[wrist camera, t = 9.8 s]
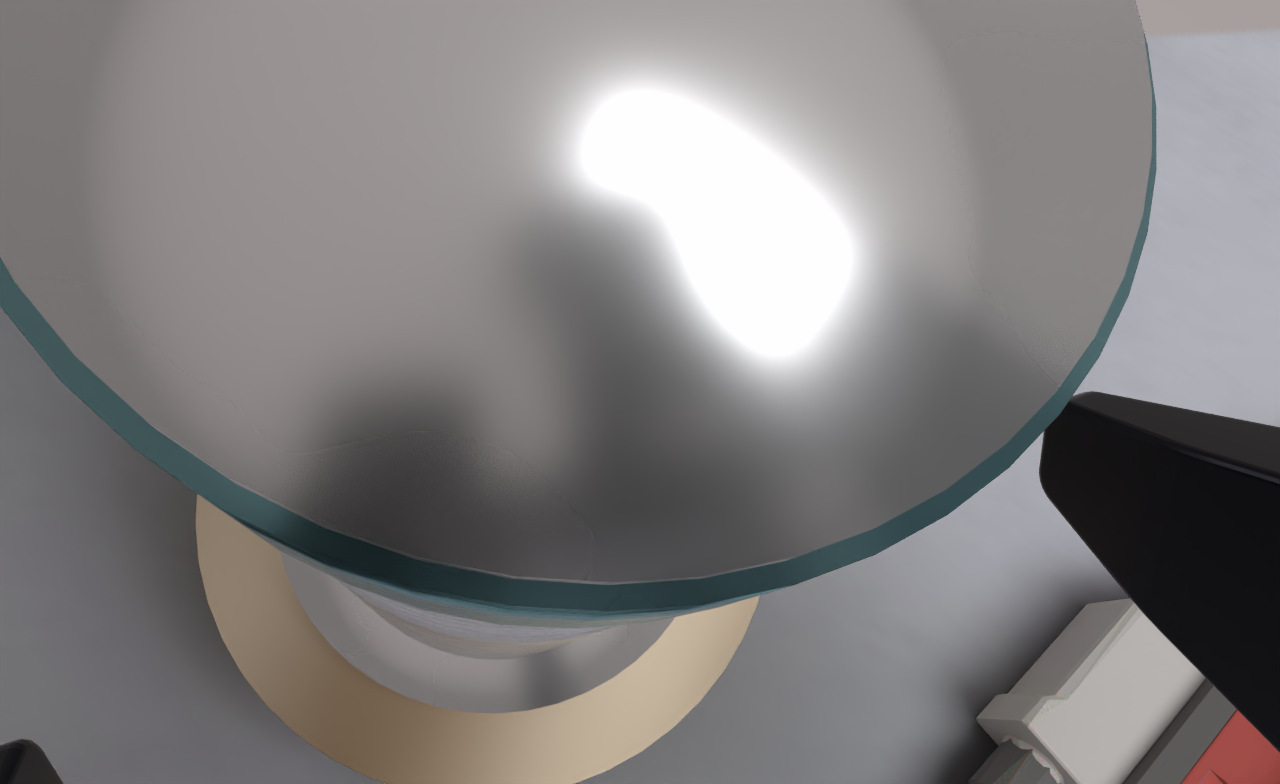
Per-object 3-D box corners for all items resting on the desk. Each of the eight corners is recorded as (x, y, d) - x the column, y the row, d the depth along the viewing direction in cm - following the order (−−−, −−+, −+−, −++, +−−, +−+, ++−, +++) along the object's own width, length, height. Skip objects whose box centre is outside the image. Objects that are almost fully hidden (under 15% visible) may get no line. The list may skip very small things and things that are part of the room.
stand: (790, 406, 21) (840, 364, 19) (625, 863, 18) (656, 896, 15) (381, 224, 21) (369, 152, 18) (133, 658, 18) (70, 653, 15)
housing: (777, 499, 17) (1508, 71, 5) (492, 809, 15) (620, 1342, 3) (506, 232, 18) (599, -707, 6) (190, 491, 16) (-756, -184, 3)
